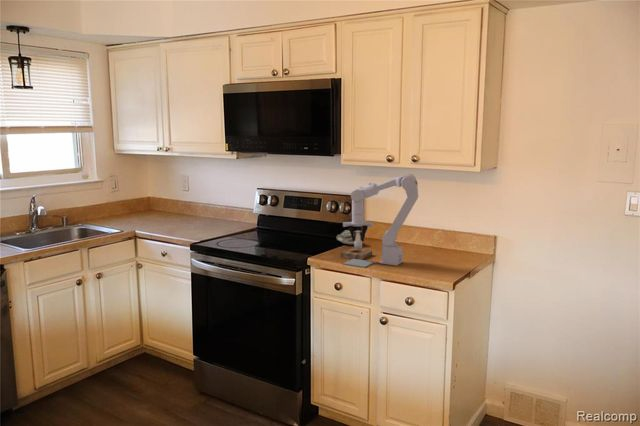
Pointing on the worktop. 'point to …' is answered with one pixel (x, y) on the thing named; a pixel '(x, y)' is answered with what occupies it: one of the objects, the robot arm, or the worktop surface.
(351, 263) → the mat
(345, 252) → the bore block
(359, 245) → the plug
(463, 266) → the worktop surface
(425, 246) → the worktop surface
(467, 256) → the worktop surface
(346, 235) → the rock
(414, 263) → the worktop surface
